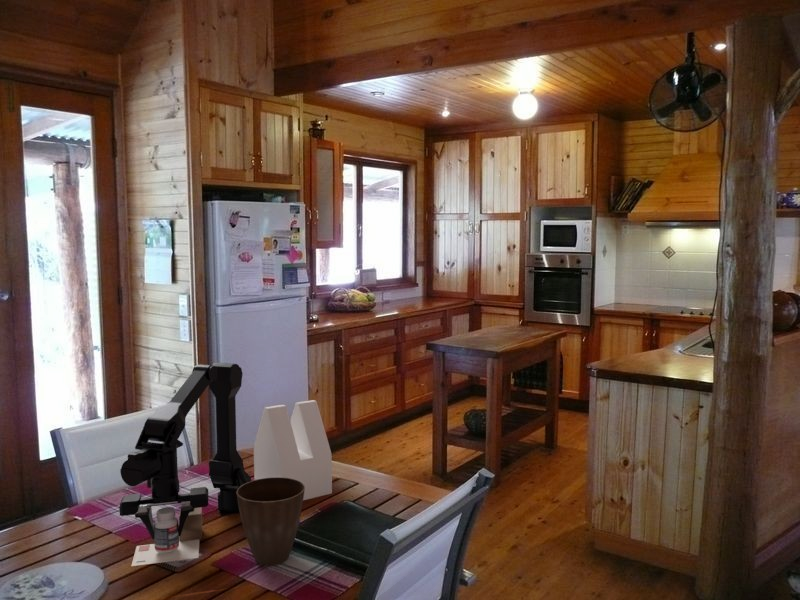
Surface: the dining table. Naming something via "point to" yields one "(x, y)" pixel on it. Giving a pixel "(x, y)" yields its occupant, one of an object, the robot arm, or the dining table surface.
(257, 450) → the white forked block
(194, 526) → the walnut block
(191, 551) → the letter
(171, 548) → the pill bottle
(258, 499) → the plant pot
